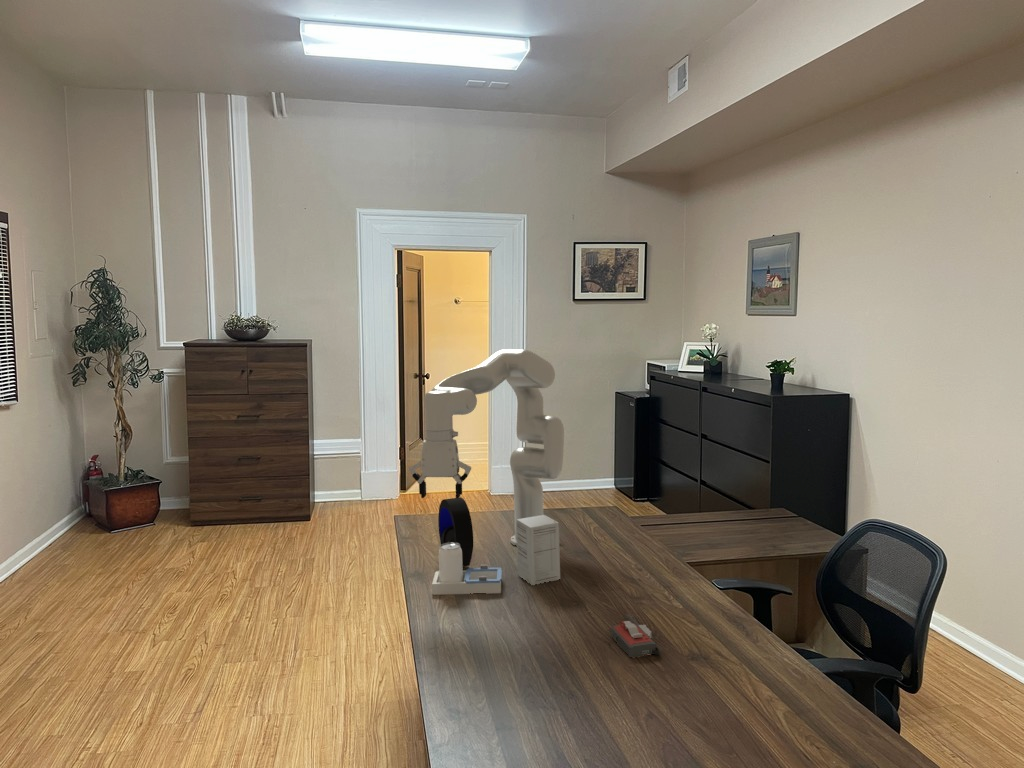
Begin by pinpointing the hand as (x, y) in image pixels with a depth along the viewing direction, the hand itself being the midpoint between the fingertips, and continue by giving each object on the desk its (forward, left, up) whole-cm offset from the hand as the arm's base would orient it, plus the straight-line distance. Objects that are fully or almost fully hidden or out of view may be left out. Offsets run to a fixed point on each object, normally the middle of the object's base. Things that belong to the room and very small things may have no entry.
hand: (440, 496), depth 197 cm
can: (-2, +1, -26) cm, 26 cm away
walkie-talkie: (-47, +34, -26) cm, 64 cm away
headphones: (-2, -18, -26) cm, 31 cm away
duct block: (-7, +1, -26) cm, 26 cm away
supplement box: (-27, -5, -26) cm, 37 cm away
